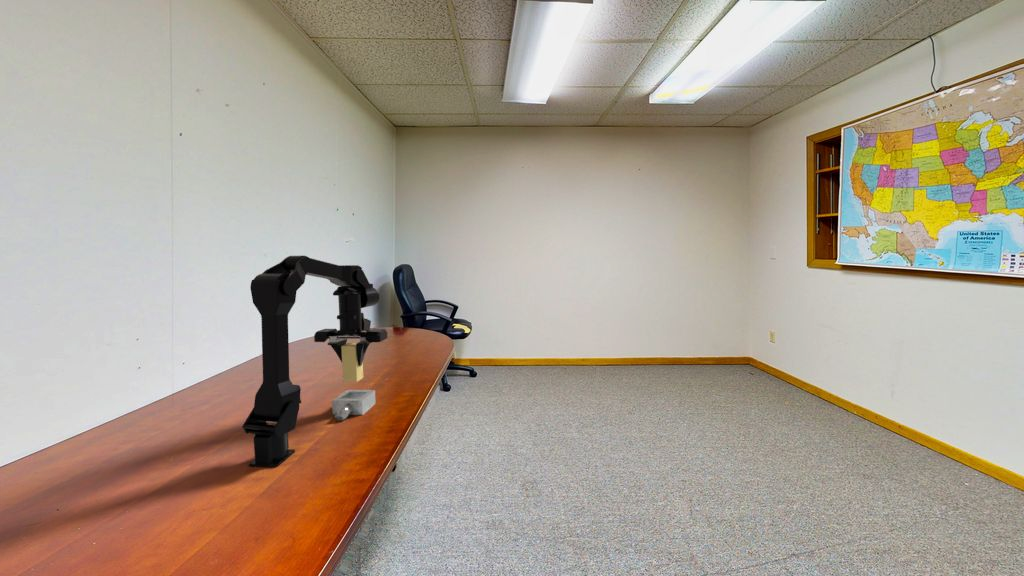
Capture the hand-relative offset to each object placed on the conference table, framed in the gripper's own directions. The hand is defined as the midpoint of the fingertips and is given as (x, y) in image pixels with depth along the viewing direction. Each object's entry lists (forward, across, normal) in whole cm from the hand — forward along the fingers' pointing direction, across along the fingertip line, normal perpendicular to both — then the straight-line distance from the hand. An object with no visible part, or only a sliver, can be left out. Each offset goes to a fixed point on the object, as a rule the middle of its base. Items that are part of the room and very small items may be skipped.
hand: (352, 365), depth 113 cm
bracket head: (+12, 0, 0) cm, 13 cm away
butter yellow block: (+4, 0, 0) cm, 4 cm away
